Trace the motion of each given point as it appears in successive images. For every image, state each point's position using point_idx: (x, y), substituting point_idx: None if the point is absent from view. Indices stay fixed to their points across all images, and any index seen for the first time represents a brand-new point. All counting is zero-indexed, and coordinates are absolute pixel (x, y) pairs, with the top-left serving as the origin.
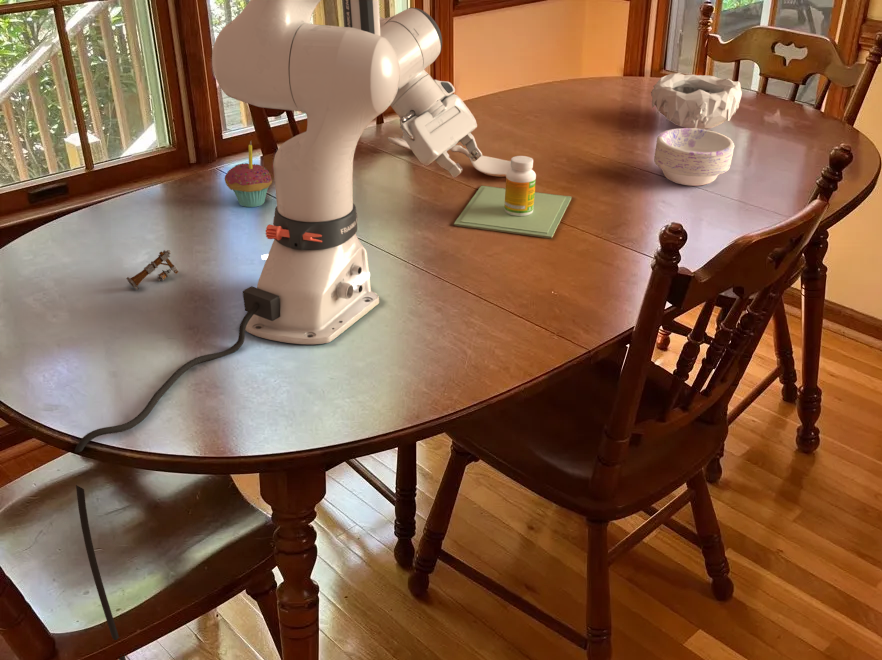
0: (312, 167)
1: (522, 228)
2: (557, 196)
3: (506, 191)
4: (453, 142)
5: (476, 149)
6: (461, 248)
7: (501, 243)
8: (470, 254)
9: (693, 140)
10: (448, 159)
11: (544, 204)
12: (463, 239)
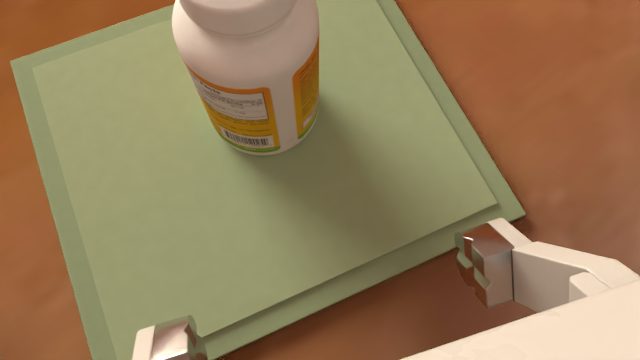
0: None
1: (378, 21)
2: (43, 90)
3: (309, 91)
4: (482, 335)
5: (165, 350)
6: (627, 82)
7: (497, 22)
8: (632, 39)
9: None
10: (595, 257)
11: (145, 81)
12: (575, 119)
